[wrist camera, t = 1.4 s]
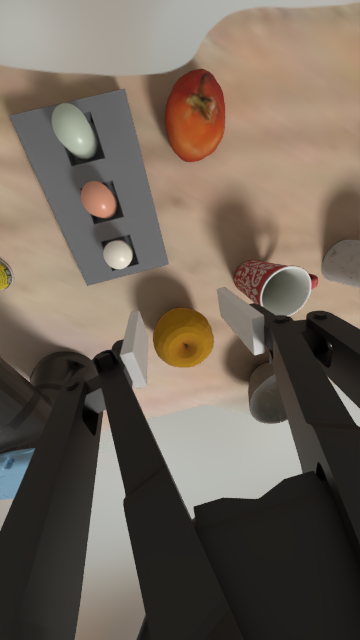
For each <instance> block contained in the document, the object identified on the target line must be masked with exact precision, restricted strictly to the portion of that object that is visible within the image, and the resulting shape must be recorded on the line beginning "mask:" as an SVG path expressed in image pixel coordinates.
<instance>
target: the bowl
mask: <svg viewBox="0 0 360 640" xmlns="http://www.w3.org/2000/svg"><path fill="white" fill-rule="evenodd" d="M248 395H249V407H250V412H251V414H252V416H253V417H254V418H255V419H256V420H257V421H259V422H262V423H268V424H273V423H280V421H281V422H283V421H286V420H288V418H287V415H286V411H285V408H284V404H283V401H282V397H281V394H280V390H279V387H278V383H277V380H276V376H275V373H274V369H273V366H272V363H271V364H270V363H269V362H267V363H264V364H262V365H260V366H259V367H257V368H256V369H255V370H254V372H253V373H252V375H251V377H250V381H249V388H248Z"/></svg>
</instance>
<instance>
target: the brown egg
mask: <svg viewBox="0 0 360 640" xmlns="http://www.w3.org/2000/svg"><path fill="white" fill-rule="evenodd" d="M81 201H82V204H83V206H84V207H85V209H86V210H87V211H88V212H89V213H90V214H92V215H94V216H97V217H100V218H105V219H106V218H110V217H112V216H113V215H114V214H115V213H116V210H117V201H116V198H115V196H114V194H113V193H112V192H111V191H110V190H109V189H108V188H107V187H106V186H105V185H104V184H102V183H100V182H97V181H91V182H88V183H86V184H85V185H84V187H83V188H82V191H81Z"/></svg>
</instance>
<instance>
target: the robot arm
mask: <svg viewBox="0 0 360 640" xmlns="http://www.w3.org/2000/svg"><path fill="white" fill-rule="evenodd" d="M217 294H218V301H219V308H220V314H221V317H222V318H223V319H224V320H225V321H226V323H227V324H228V325H229V326H230V327H231V329H232V330H233V331H234V332H235V333H236V334H237V336H238V337H239V338H240V339H241V340H242V342H243V343H244V344H245V345H246V346H247V348H248V349H249V350H250V351H251V352H252V353H253V355H254V356H255V355H258V354H262V353H265V345H266V346H267V347H268V348H269V363H270V364H271V363H272V366H273V369H274V373H275V376H276V380H277V383H278V387H279V390H280V394H281V397H282V401H283V404H284V408H285V411H286V415H287V418H288V421H289V425H290V428H291V432H292V435H293V439H294V442H295V446H296V449H297V452H298V456H299V460H300V463H301V467H302V473H303V474H300V475H297V476H293V477H290V478H287V479H284V480H283V481H281V482H280V483H279V484H278V485H276V486H275V487H274V488H272V489H271V490H270V491H269V492H267V493H266V494H265V495H263V496H262V497H261V498H259V499H241V498H221V499H217V500H214V501H211V502H208V503H204V504H201V505H198V506H194V513H195V518H194V519H191V517H190V515H189V513H188V510H187V508H186V506H185V504H184V501H183V499H182V497H181V495H180V493H179V491H178V488H177V486H176V484H175V482H174V480H173V478H172V475H171V473H170V471H169V469H168V466H167V464H166V462H165V460H164V458H163V455H162V453H161V451H160V449H159V447H158V445H157V442H156V440H155V438H154V436H153V433H152V431H151V429H150V427H149V425H148V423H147V420H146V418H145V416H144V414H143V411H142V409H141V407H140V405H139V403H138V400H137V398H136V396H135V394H134V392H133V390H132V383H133V385H134V387H135V389H137V388H141V387H145V386H147V359H148V334H147V331H146V329H145V326H144V323H143V320H142V317H141V315H140V312H139V310H137V311H134V312H131V313H130V317H129V321H128V325H127V329H126V333H125V337H124V339H123V340H120V341H116V343H115V344H114V345H113V347H112V350H106V351H103V352H101V353H99V354H97V355H96V356H95V357H94V358H93V360H92V361H91V360H90V359H88V358H87V357H85V356H82V355H80V354H77V353H72V352H58V353H54V354H51V355H48V356H46V357H45V358H43V359H42V360H41V361H40V362H39V363H38V364H37V366H36V367H35V368H34V370H33V371H32V374H31V377H30V382H29V381H27V380H26V379H25V378H24V377H23V376H22V375H20V374H19V373H18V372H17V371H16V370H15V369H14V368H12V367H11V366H10V365H9V364H8V363H7V362H6V361H5V360H3V359H2V358H1V357H0V500H3V499H13V498H14V500H13V502H12V505H11V507H10V509H9V512H8V514H7V516H6V519H5V521H4V524H3V526H2V528H1V531H0V640H74V638H75V633H76V626H77V620H78V613H79V607H80V599H81V591H82V583H83V574H84V566H85V558H86V550H87V541H88V532H89V524H90V516H91V508H92V500H93V491H94V483H95V475H96V467H97V458H98V450H99V442H100V433H101V425H102V417H103V411H104V410H105V409H106V410H107V415H108V419H109V423H110V428H111V432H112V436H113V441H114V445H115V449H116V453H117V458H118V463H119V467H120V471H121V476H122V480H123V484H124V488H125V494H126V497H125V499H124V504H123V505H124V512H125V517H126V522H127V526H128V531H129V536H130V540H131V546H132V550H133V555H134V560H135V565H136V570H137V574H138V579H139V584H140V589H141V593H142V598H143V603H144V608H145V612H146V615H145V618H144V620H143V623H142V626H141V629H140V632H139V634H138V637H137V640H360V427H359V426H357V425H356V423H355V422H354V421H353V419H352V417H351V416H350V414H349V412H348V411H347V409H346V407H345V406H344V404H343V402H342V401H341V399H340V397H339V396H338V394H337V392H336V391H335V389H334V387H333V386H332V384H331V382H330V381H329V379H328V377H329V378H330V379H331V380H332V381H333V382H334V383H335V384H336V385H337V386H338V387H339V388H340V389H341V390H342V391H343V392H344V393H345V394H346V395H347V396H348V397H349V398H350V399H351V400H352V401H353V402H354V403H355V404H356V405H357V406H358V407H359V408H360V329H358V328H357V327H355V326H353V325H351V324H349V323H348V322H346V321H344V320H342V319H341V318H339V317H337V316H335V315H334V314H332V313H329V312H325V311H313V312H309V313H308V314H307V317H306V320H297V321H293V319H292V318H291V317H289V316H285V315H275V314H273V313H272V312H270V311H269V310H267V309H266V308H264V307H263V306H261V305H259V304H255V303H253V304H247V303H246V302H245V301H243V300H242V299H241V298H239V297H238V296H237V295H235V294H234V293H232V292H231V291H230V290H228V289H227V288H226V287H223V288H219V289H217ZM330 345H332V347H331V346H330ZM326 375H327V376H328V377H327V376H326Z"/></svg>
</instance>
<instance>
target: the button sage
mask: <svg viewBox="0 0 360 640" xmlns="http://www.w3.org/2000/svg"><path fill="white" fill-rule="evenodd" d="M52 126H53V130H54V132H55V135H56V136H57V138H58V139H59V141H60V142H61V143H62V144H63V145H64V146H65V147H66V148H67V149H68V150H69V151H70V152H71V153H72V154H73V155H74V156H76V157H77V158H79V159H82V160H88V159H91V158H92V157H93V156H94V155H95V153H96V151H97V139H96V136H95V134H94V132H93V130H92V128H91V126H90V125H89V123H88V121H87V119H86V117H85V116H84V114H83V113H82V112H81V111H80V110H79V109H78V108H77V107H76V106H74V105H72V104H69V103H62V104H60V105H58V106H57V107H56V108H55V109H54V111H53V114H52Z"/></svg>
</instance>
